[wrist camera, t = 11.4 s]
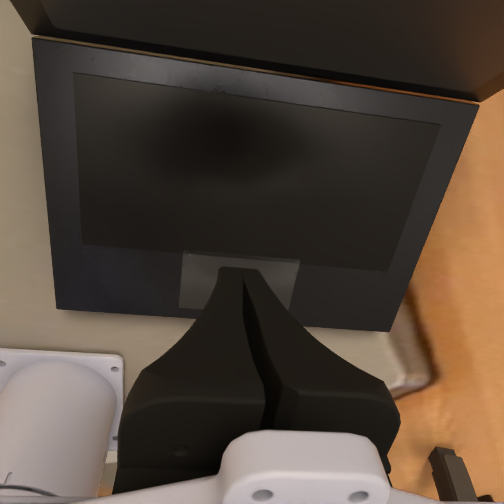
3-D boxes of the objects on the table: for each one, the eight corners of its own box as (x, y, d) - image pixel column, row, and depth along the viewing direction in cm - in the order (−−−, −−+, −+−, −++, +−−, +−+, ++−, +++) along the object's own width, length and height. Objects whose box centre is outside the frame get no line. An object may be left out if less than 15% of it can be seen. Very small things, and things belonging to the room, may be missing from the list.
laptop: (381, 316, 29) (390, 333, 27) (64, 292, 26) (55, 310, 25) (464, 97, 22) (481, 105, 20) (44, 33, 19) (29, 37, 18)
